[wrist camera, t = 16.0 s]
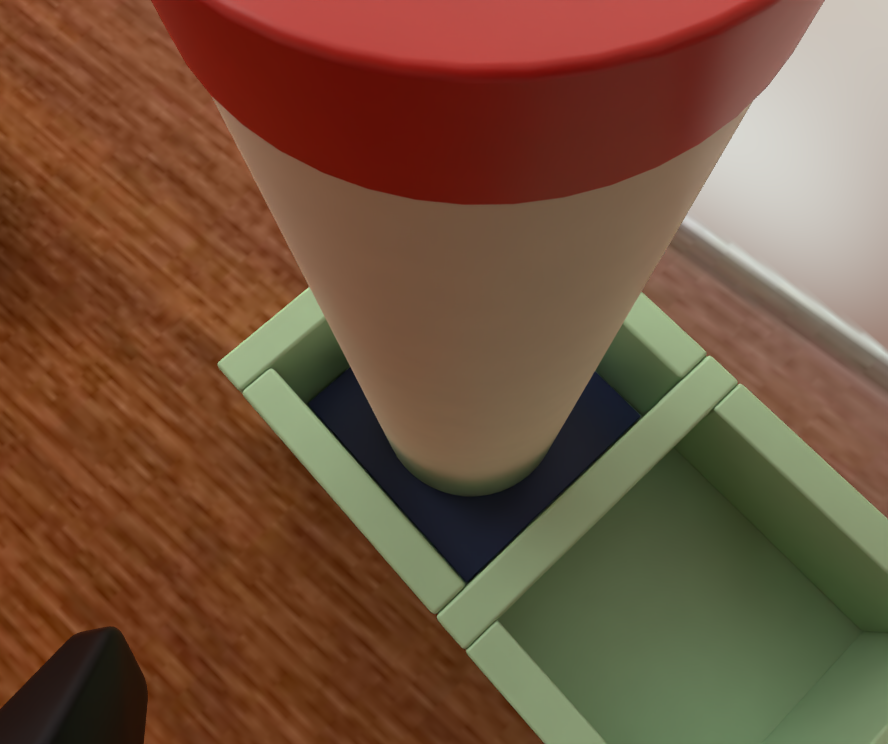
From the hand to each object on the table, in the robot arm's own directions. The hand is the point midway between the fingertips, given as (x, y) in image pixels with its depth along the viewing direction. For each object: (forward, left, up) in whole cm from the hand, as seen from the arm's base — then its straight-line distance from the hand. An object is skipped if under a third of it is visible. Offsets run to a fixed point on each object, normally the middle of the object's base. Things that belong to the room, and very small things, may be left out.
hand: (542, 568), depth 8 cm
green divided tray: (0, -2, -8) cm, 8 cm away
